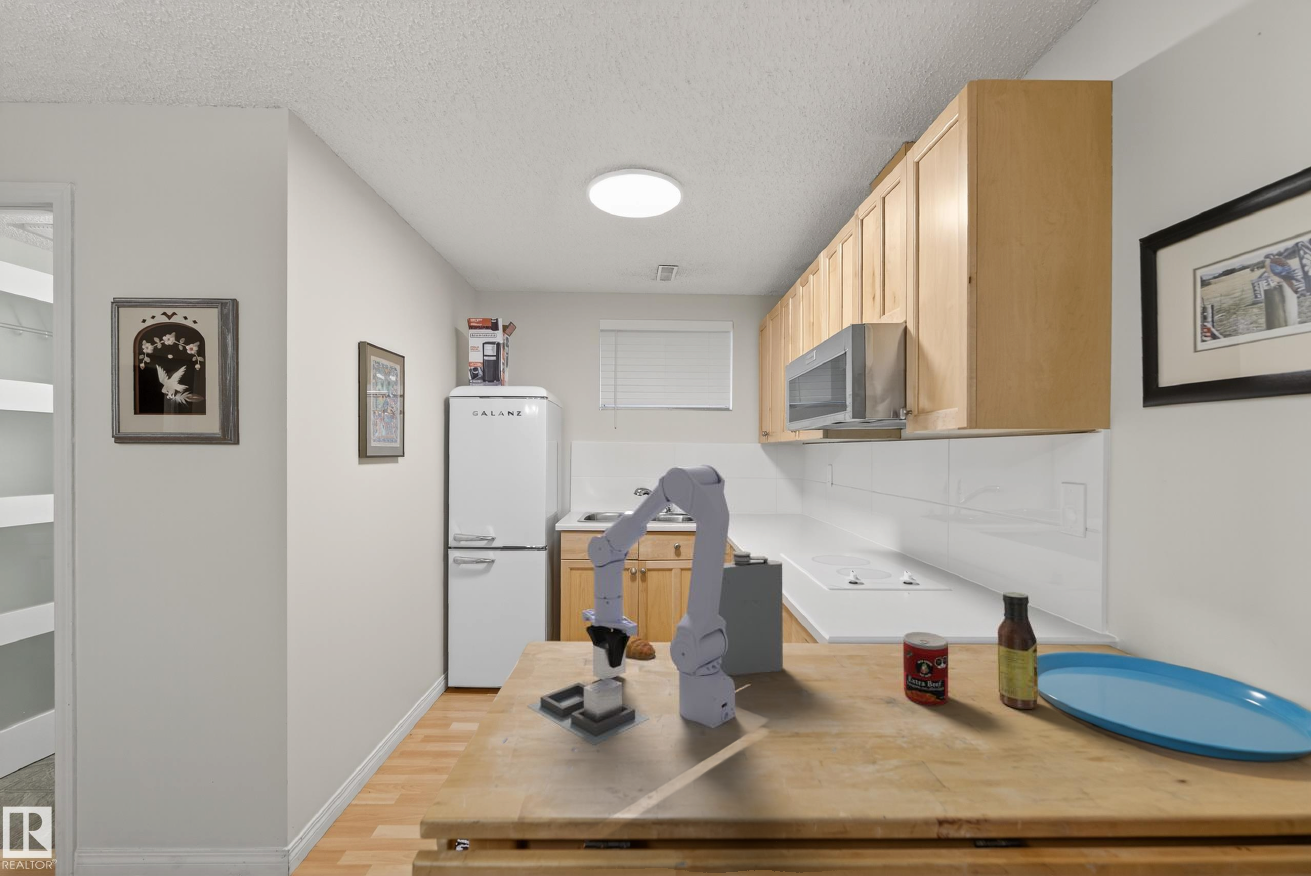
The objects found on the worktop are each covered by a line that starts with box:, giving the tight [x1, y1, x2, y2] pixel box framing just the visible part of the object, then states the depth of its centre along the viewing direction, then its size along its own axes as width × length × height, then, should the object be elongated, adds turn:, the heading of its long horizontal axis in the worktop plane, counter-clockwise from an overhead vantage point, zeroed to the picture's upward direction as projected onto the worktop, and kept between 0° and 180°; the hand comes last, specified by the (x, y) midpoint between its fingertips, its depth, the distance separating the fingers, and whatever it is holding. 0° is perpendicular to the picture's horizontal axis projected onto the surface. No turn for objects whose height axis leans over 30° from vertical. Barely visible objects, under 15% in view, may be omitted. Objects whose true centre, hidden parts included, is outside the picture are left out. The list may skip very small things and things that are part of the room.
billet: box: [584, 678, 623, 723], centre depth 100 cm, size 4×6×6 cm, turn 135°
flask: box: [718, 550, 784, 677], centre depth 124 cm, size 17×5×25 cm, turn 106°
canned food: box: [902, 631, 949, 706], centre depth 111 cm, size 8×8×11 cm
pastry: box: [626, 635, 656, 660], centre depth 133 cm, size 9×7×4 cm
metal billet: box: [592, 641, 627, 680], centre depth 117 cm, size 4×6×6 cm, turn 135°
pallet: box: [527, 682, 650, 746], centre depth 103 cm, size 19×12×3 cm, turn 45°
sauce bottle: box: [996, 591, 1039, 710], centre depth 108 cm, size 7×6×20 cm
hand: (609, 663), depth 117 cm, fingers closed on metal billet, 3 cm apart
